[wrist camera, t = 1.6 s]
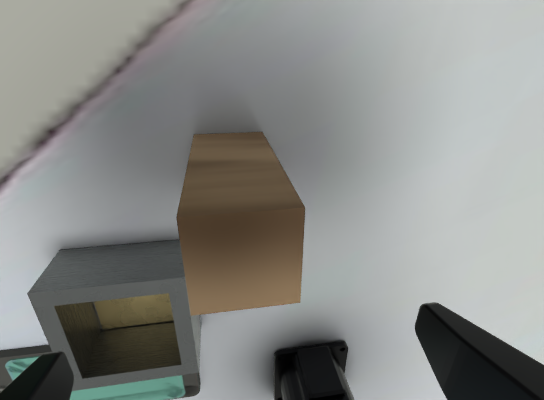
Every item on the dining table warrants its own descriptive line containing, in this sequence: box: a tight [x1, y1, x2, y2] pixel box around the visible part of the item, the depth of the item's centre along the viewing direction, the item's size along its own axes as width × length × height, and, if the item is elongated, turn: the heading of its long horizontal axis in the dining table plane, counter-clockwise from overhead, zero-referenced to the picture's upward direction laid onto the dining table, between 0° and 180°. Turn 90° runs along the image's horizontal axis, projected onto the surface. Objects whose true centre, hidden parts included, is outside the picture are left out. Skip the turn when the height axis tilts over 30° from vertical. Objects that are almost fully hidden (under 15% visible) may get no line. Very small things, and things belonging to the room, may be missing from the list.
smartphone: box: [0, 345, 200, 400], centre depth 25 cm, size 7×1×15 cm
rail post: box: [176, 132, 305, 316], centre depth 15 cm, size 4×4×10 cm
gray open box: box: [27, 240, 201, 391], centre depth 21 cm, size 8×8×4 cm
